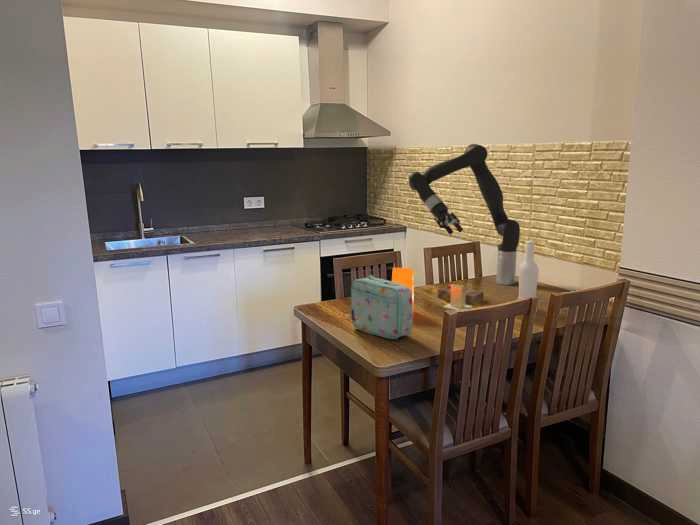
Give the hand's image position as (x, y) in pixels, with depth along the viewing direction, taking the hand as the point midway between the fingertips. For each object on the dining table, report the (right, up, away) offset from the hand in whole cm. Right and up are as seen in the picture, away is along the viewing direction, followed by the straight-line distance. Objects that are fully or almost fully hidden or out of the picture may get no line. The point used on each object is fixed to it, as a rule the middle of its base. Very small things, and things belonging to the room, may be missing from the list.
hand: (456, 232), depth 232 cm
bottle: (+26, -35, -17) cm, 47 cm away
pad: (-2, -34, -12) cm, 36 cm away
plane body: (+2, -31, +1) cm, 31 cm away
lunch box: (-38, -41, -40) cm, 69 cm away
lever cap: (-2, -33, -12) cm, 36 cm away
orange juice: (-27, -36, -18) cm, 49 cm away
